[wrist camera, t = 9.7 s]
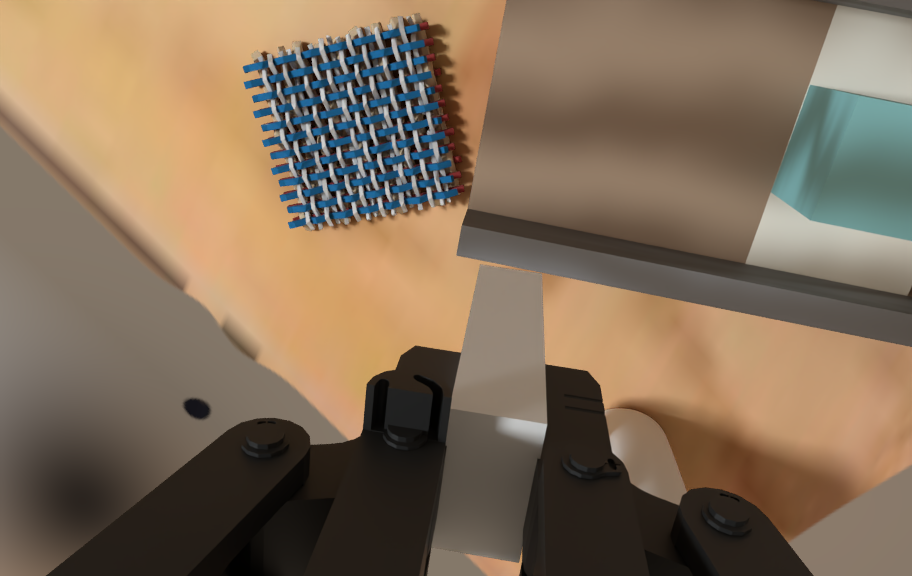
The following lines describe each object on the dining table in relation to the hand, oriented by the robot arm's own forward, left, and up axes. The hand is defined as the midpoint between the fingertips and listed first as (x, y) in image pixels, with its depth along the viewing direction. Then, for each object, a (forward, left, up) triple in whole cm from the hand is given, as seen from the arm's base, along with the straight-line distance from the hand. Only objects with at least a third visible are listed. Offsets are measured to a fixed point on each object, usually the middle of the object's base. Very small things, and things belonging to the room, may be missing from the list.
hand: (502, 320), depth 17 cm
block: (-4, +14, -18) cm, 23 cm away
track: (-4, +14, -23) cm, 27 cm away
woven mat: (0, -9, -24) cm, 25 cm away
